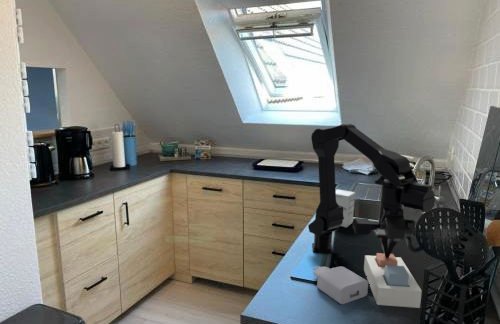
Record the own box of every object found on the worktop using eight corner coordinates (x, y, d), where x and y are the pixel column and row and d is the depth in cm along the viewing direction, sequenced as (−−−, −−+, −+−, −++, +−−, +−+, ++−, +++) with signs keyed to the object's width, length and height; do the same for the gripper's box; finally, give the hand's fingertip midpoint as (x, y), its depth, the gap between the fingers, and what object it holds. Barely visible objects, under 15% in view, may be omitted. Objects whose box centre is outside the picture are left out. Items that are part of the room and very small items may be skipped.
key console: (363, 269, 111) (364, 255, 110) (399, 272, 109) (400, 257, 109) (377, 304, 93) (378, 287, 92) (419, 307, 92) (421, 290, 91)
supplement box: (328, 224, 148) (330, 192, 145) (335, 218, 154) (337, 188, 151) (346, 228, 144) (348, 195, 141) (353, 222, 150) (355, 191, 147)
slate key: (383, 281, 98) (384, 264, 97) (401, 282, 98) (403, 266, 97) (387, 290, 94) (389, 273, 93) (407, 291, 93) (408, 274, 92)
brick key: (375, 267, 108) (376, 253, 107) (391, 268, 108) (393, 254, 107) (378, 275, 104) (380, 260, 103) (396, 276, 103) (397, 261, 102)
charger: (328, 271, 110) (367, 296, 97) (302, 279, 105) (340, 306, 92) (328, 256, 109) (368, 279, 96) (303, 263, 104) (341, 288, 91)
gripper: (361, 210, 95) (356, 268, 98) (439, 214, 93) (432, 273, 96) (354, 197, 106) (350, 250, 109) (424, 201, 104) (418, 254, 107)
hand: (386, 257), depth 105 cm, fingers closed, pressing on brick key
